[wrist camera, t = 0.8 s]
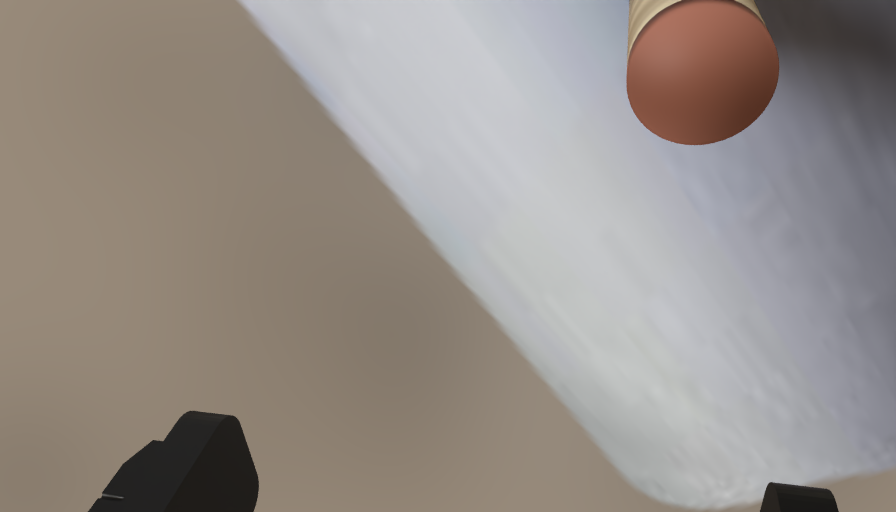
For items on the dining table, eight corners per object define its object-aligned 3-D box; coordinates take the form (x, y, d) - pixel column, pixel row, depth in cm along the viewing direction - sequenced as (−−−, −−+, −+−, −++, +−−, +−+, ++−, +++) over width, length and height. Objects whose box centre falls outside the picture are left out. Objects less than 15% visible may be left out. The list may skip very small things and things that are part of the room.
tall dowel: (632, -70, 28) (629, 9, 19) (740, -78, 27) (790, 1, 18) (628, 32, 30) (624, 145, 21) (729, 28, 29) (768, 145, 20)
